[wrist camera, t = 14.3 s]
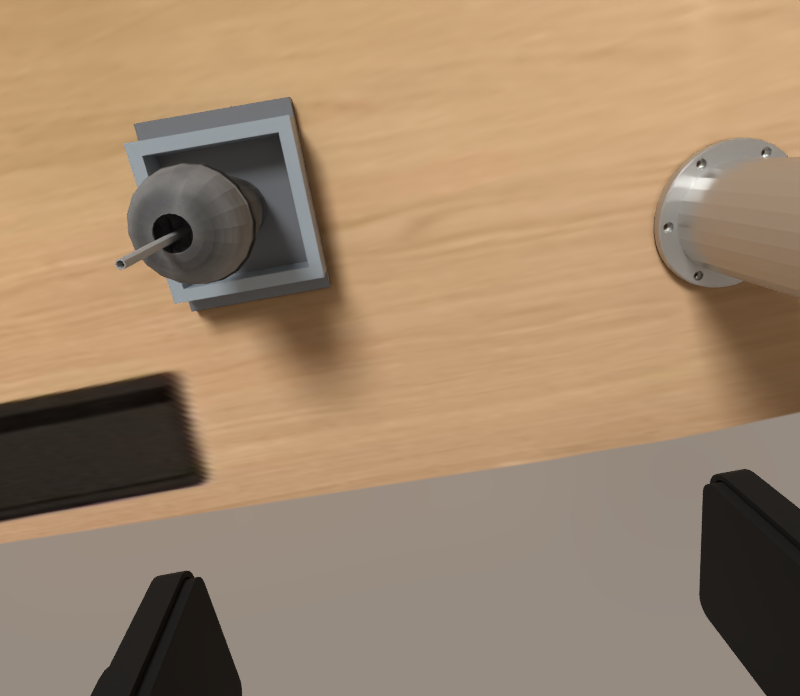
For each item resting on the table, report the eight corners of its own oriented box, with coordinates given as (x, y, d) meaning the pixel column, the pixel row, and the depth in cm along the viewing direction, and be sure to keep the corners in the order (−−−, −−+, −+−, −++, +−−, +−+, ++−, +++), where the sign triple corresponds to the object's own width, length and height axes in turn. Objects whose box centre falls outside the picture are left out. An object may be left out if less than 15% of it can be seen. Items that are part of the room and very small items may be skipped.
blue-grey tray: (290, 98, 41) (284, 92, 38) (330, 284, 47) (327, 295, 43) (138, 124, 41) (116, 121, 38) (195, 308, 46) (180, 321, 43)
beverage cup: (302, 213, 43) (253, 258, 25) (238, 270, 45) (144, 353, 26) (238, 139, 41) (130, 125, 22) (172, 201, 42) (17, 237, 24)
